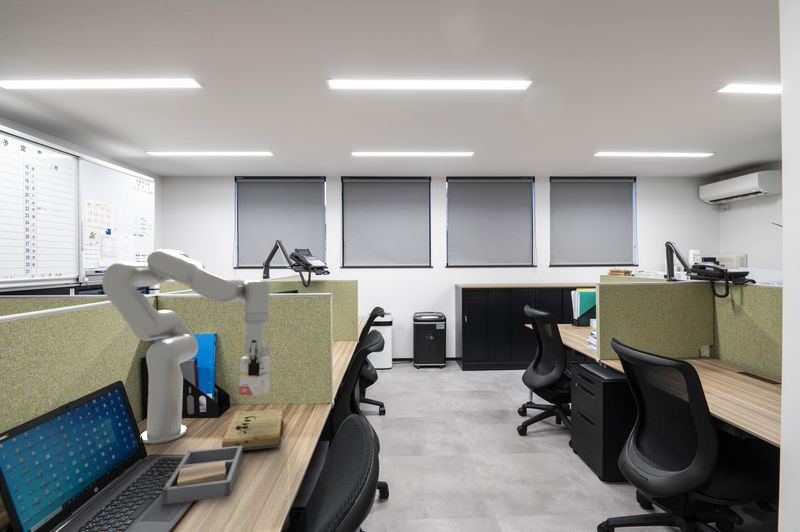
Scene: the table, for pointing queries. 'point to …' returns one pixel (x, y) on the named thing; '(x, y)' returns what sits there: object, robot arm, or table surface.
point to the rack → (208, 489)
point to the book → (255, 429)
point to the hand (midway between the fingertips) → (254, 372)
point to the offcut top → (202, 473)
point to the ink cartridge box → (258, 382)
